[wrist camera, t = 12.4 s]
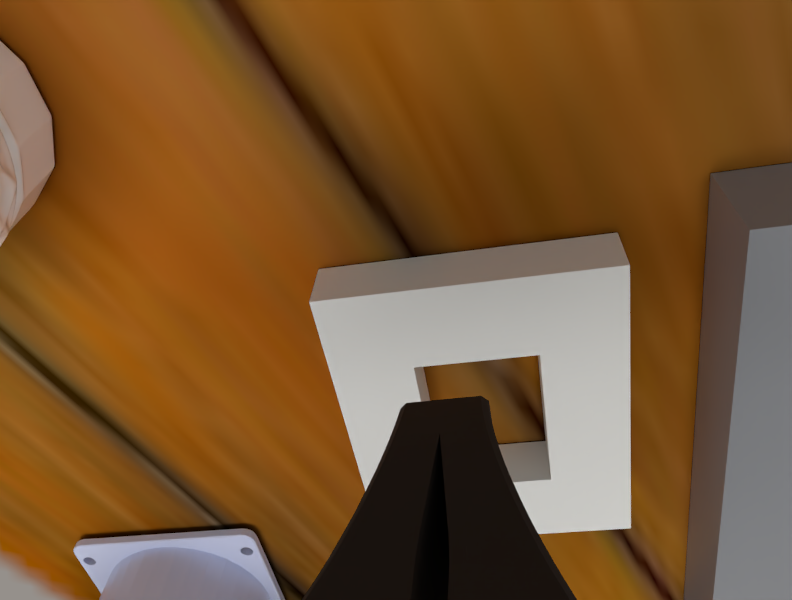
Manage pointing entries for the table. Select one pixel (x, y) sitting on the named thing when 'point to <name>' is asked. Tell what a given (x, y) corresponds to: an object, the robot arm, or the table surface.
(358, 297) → the square frame
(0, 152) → the white cup
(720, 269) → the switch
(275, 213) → the table surface
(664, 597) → the table surface
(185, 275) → the table surface
